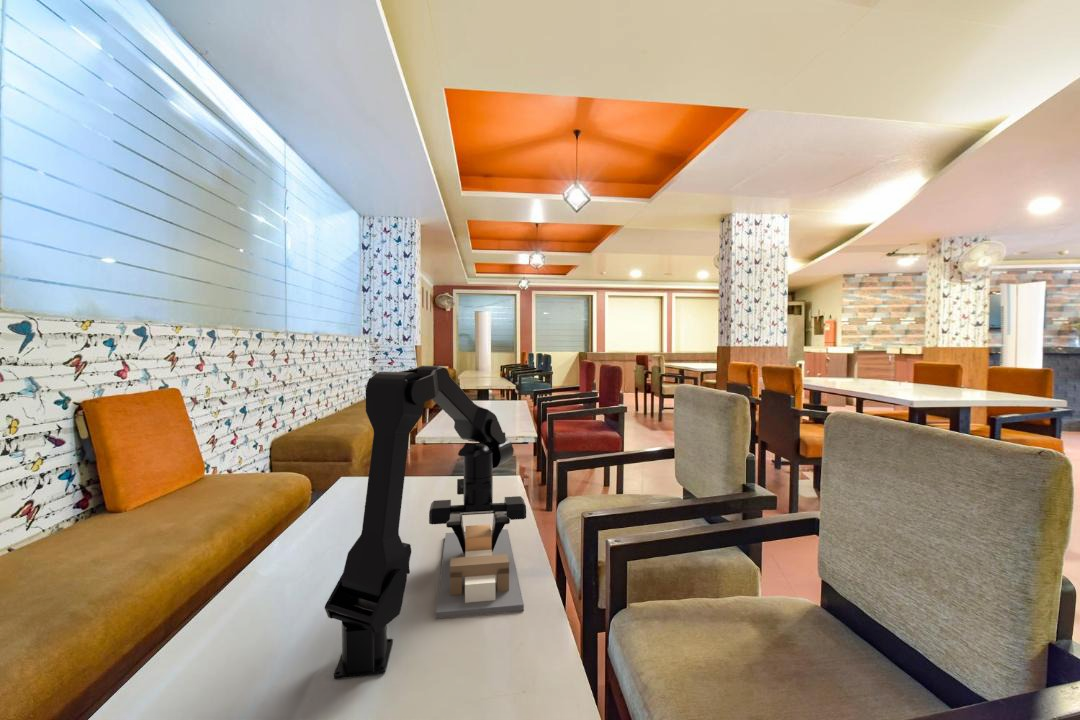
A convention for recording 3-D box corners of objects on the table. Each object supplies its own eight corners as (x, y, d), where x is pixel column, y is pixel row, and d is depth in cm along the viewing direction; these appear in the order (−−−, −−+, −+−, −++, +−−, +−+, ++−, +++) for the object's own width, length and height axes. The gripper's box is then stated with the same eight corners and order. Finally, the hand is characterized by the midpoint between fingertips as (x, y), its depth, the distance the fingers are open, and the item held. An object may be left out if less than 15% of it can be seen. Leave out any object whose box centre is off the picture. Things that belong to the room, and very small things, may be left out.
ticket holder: (523, 610, 72) (523, 574, 72) (436, 618, 70) (435, 581, 70) (507, 533, 102) (507, 507, 102) (445, 537, 100) (445, 511, 100)
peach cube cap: (491, 562, 86) (491, 536, 86) (465, 564, 85) (465, 538, 85) (490, 548, 92) (490, 524, 92) (465, 549, 91) (465, 525, 91)
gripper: (520, 462, 97) (519, 532, 98) (433, 465, 94) (433, 537, 95) (526, 477, 86) (526, 555, 87) (428, 481, 83) (429, 562, 84)
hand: (478, 551), depth 89 cm, fingers closed on peach cube cap, 5 cm apart
